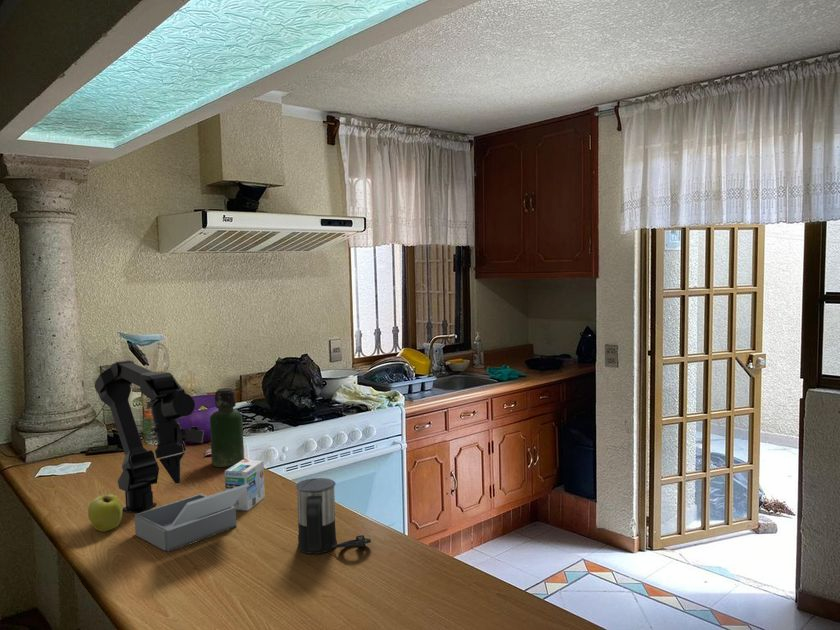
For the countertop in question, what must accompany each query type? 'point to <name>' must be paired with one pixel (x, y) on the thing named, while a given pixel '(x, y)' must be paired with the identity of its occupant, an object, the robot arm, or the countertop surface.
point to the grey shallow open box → (180, 525)
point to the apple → (105, 512)
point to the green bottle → (226, 430)
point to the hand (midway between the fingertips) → (177, 483)
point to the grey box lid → (209, 504)
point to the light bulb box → (246, 482)
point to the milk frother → (319, 517)
